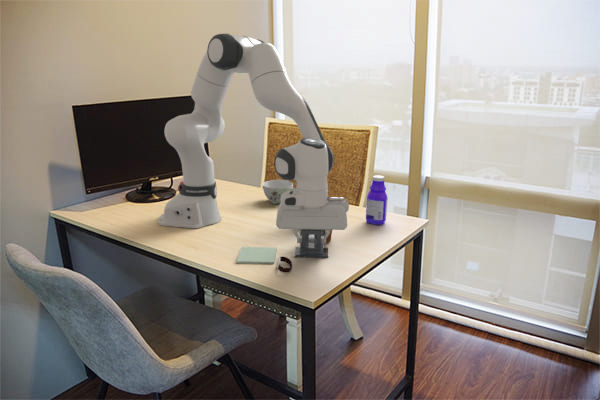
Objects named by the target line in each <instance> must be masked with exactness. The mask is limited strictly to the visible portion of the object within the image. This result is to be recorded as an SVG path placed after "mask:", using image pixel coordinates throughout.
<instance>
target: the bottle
mask: <svg viewBox="0 0 600 400" xmlns="http://www.w3.org/2000/svg"><path fill="white" fill-rule="evenodd" d="M386 190H387V187H386V185H385V176H384V175H381V174H380V175H379V174H377V175H373V176H372V183H371V184H370V186H369V192H368V194H367V195H366V208H365V210H366V211H365V220H366V222H367V223H368V224H371V225H376V226H377V225H379V226H380V225H384V224H385V223H386V220H387V211H388V195H387V193H386Z"/></svg>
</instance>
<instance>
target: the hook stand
mask: <svg viewBox="0 0 600 400" xmlns="http://www.w3.org/2000/svg"><path fill="white" fill-rule="evenodd" d="M323 235H324V230H321V236H323ZM299 236H302V229H299ZM306 245H309V248H314V245H317V235H306ZM294 251H295V252H294V258H310V259H311V258H312V259H314V258H318V259H319V258H321V259H322V258H323V259H324V258H325V259H329V248H328V247H324V244H321V252H314V251H302V243H299V246H296V247H295V250H294Z"/></svg>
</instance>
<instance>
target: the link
mask: <svg viewBox="0 0 600 400" xmlns="http://www.w3.org/2000/svg"><path fill="white" fill-rule="evenodd" d="M306 235H317V245H314V248H309V245H306ZM302 251H314V252H321V230H320V229H302Z"/></svg>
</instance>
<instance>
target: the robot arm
mask: <svg viewBox="0 0 600 400" xmlns="http://www.w3.org/2000/svg"><path fill="white" fill-rule="evenodd" d="M234 73H236V74H237V73H238V74H248V76H249V80H250V83H251V87H252V90H253V94H254V98H256V100H257V102H258V103H259V105H261V106H262V107H263V108H265V109H267V110H269V111H272V112H275V113H280V114H282V115H285V116H286V117H289V118H291V119H292V120H293V121H294V122H295V123H296V125H297V128H298V129H299V131H300V134H301V137H302V138H301V139H300V140H298V142H297V143H295V144H293V145H289V146H286V147H282V148H280V149H279V150H278V151H277V152H276V154H275V157H274V161H273V162H274V170H275V171H274V172H275V173H276V174H277V175H278V176H279V177H280V179H281V180H287V181H295V182H296V187H295V189H294V190H291V191H287V192H284V193H283V194H282V195H281V203H280V204H278V207H277V212H276V213H277V214H276V219H275V222H276V223H275V225H276V227H277V229H279V230H280V229H281V230H292V233H293V235H294V236H295V238H296V244H300V243H302V236H300V233H298V232H299V230H300V229H320V230H325V235H324V236H321V244H323V245H325V244H327V243H326V238H327V237H328V235H329V234H330V230H332V231H333V230H335V231H344V230H346V229H347V228H348V217H347V216H348V215H347V213H348V211H349V210H350V209H349V208H350V203H349V201H348V199H346V198H345V197H336V196H335V197H334V196H329V184H328V175H329V173H330V172H331V170H332V169H333V166H334V164H335V155H334V153H333V150H332V148H331V147H330V146H329V144H328V143H327V141H326V140H325V137H324V136H323V134H322V131H321V130H320V126H319V125H318V122H317V120H316V117H315V115H314V114H313V112H312V109H311V108H310V106H309V104H308V101H307V100H306V98H305V97H304V96H303V95H302V94H301V93H299V92H298V91H297V90H296V89H295V87H294V86H293V84H292V82H291V80H290V79H289V75H288V72H287V68H286V67H285V63H284V61H283V59H282V57H281V55H280V53H279V51H278V49H277V48H276V47H275V45H274V44H272V43H270V42H265V41H264V40H262V39H261V40H260V39H256V38H254V37H250V36H247V35H246V36H245V35H238V34H237V35H236V34H229V33H218V34H215V35H213V36H212V37H211V38H210V40H209V42H208V46H207V50H206V52H205V54H204V56H203V57H202V60H201V62H200V64H199V67H198V70H197V72H196V75H195V79H194V81H193V85H192V87H191V91H190V96H191V98H192V100H193V101H194V107H193V111H192V112H191V113H186V114H181V115H178V116H175V117H174V118H171V119H170V120H168V121H167V122H166V123H165V125H164V126H165V127H164V130H163V131H164V137H165V139H166V142H167V143H168V144H169V145H170V146H172V147H173V148H174V149H175V151H176V152H177V154H178V156H179V160H180V163H181V169H182V180H181V181H180V182H179V185H178V187H177V191H178V193H177V194H176V195H175V196H174V197H172V198H171V199H170V200H169V201H168V202H167V203H166V204H165V207H164V211H163V214H161V215H160V216H159V217H158V219H157V224H158V225H159V226H164V227H165V226H166V227H176V228H187V229H199V228H202V227H205V226H210V225H214V224H216V223H218V222H220V221H221V220H222V217H221V213H220V210H219V207H218V202H217V196H218V189H217V188H218V187H217V182H216V181H215V179H216V178H215V164H214V163H215V162H214V160H213V159H212V158H211V157H210V156H208V155H207V152H206V150H205V144H207V143H210V142H213V141H215V140H217V139H219V138H220V137H221V136H223V134H224V132H225V130H226V122H225V120H224V118H223V116H222V115H223V104H224V102H225V98H226V96H227V93H228V90H229V88H230V85H231V83H232V82H231V81H232V78H233V76H234Z"/></svg>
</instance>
